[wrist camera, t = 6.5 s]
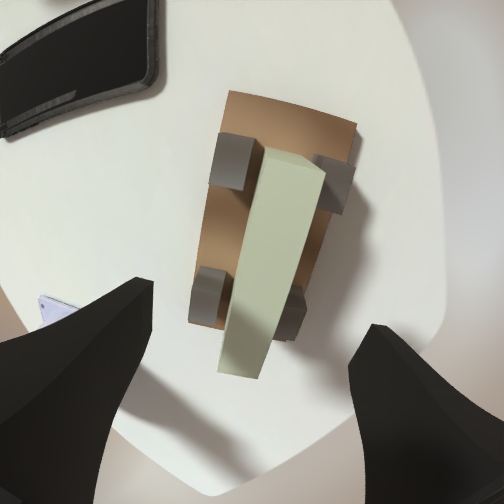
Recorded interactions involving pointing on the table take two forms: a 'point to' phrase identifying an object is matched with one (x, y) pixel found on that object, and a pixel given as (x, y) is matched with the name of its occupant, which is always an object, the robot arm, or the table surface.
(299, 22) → the table surface
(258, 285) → the door panel
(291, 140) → the rail
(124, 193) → the table surface
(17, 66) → the phone
